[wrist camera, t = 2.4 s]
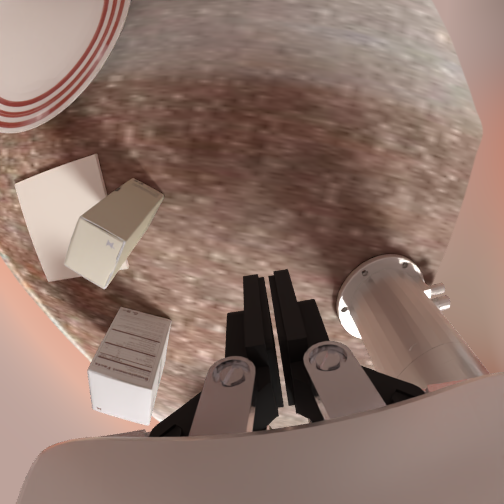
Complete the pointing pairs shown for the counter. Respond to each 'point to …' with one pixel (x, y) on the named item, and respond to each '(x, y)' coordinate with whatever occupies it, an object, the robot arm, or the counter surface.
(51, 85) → the dinner plate
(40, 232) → the beige flat slab
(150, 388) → the supplement box
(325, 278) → the counter surface
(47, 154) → the counter surface
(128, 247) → the box
